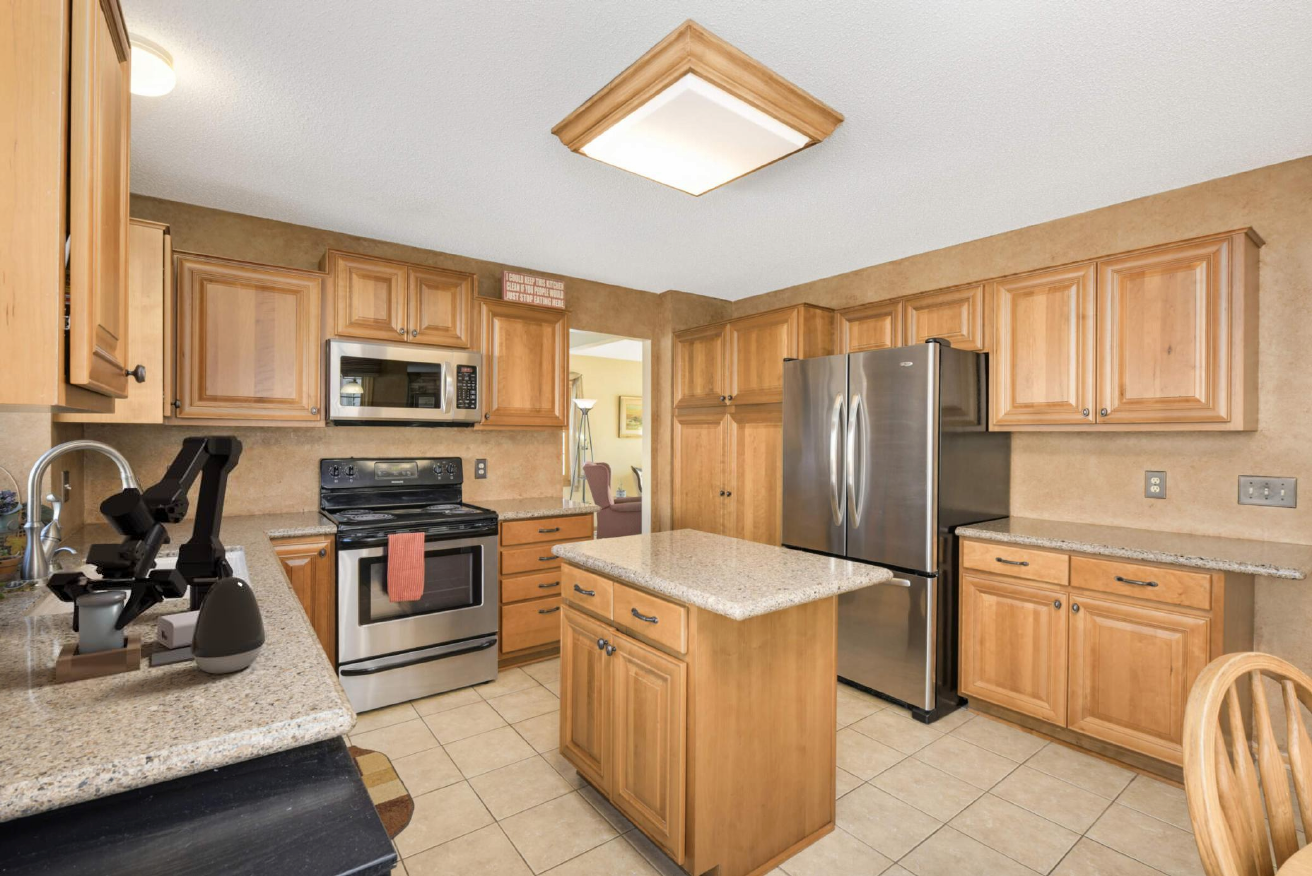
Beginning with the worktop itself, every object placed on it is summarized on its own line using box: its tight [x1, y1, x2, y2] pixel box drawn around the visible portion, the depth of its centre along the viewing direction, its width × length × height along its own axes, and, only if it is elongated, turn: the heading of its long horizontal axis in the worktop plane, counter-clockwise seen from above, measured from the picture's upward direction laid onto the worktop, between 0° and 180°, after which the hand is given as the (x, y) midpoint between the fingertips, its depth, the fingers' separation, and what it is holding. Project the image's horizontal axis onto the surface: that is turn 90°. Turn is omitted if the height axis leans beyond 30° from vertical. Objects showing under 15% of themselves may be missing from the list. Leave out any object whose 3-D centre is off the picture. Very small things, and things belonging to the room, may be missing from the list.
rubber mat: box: [151, 646, 195, 668], centre depth 108 cm, size 7×7×1 cm
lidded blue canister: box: [76, 590, 128, 655], centre depth 103 cm, size 6×6×12 cm
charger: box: [156, 610, 200, 650], centre depth 119 cm, size 5×9×15 cm
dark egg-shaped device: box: [190, 576, 266, 675], centre depth 103 cm, size 10×10×15 cm
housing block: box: [55, 632, 142, 685], centre depth 103 cm, size 10×10×4 cm
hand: (96, 630), depth 101 cm, fingers closed on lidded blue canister, 6 cm apart
